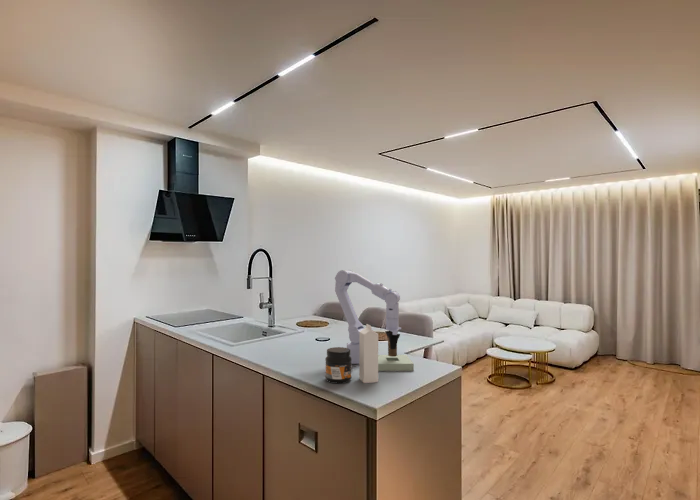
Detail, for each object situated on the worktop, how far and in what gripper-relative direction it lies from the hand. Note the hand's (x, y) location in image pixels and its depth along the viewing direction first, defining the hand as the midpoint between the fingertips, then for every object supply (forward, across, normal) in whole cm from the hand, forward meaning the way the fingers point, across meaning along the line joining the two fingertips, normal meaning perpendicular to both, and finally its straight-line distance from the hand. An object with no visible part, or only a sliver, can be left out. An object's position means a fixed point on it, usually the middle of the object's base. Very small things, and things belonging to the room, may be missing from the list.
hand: (392, 348), depth 169 cm
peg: (+3, 0, 0) cm, 3 cm away
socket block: (+8, 0, 0) cm, 8 cm away
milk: (+8, -21, +13) cm, 26 cm away
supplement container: (+8, -20, +25) cm, 33 cm away
